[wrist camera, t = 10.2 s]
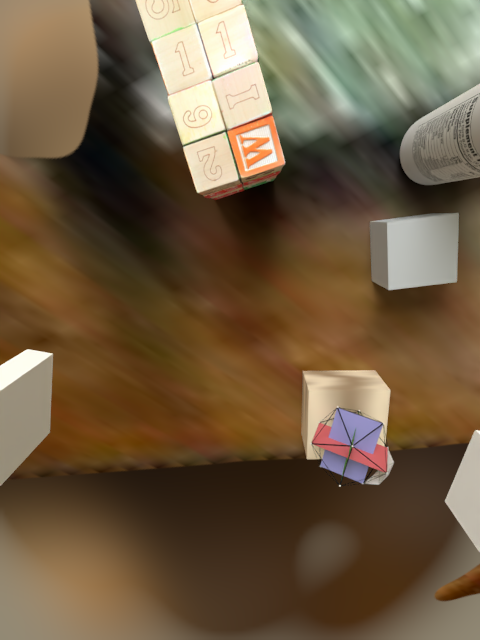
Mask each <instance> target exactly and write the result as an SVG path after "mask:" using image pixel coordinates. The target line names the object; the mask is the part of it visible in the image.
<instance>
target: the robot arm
mask: <svg viewBox="0 0 480 640" xmlns="http://www.w3.org/2000/svg"><path fill="white" fill-rule="evenodd" d="M52 367H53V354H51V353H46V352H40V351H35V350H29V349H27V350H25V351H24V352H22V353H20V354H19V355H17V356H16V357H14V358H12V359H11V360H9V361H7V362H6V363H4V364H2V365H1V366H0V486H1V485H2V484H3V483H4V481H5V480H6V479H7V478H8V477H9V476H10V475H11V474H12V473H13V472H14V471H15V470H16V468H17V467H18V466H19V465H20V464H21V463H22V462H23V461H24V460H25V459H26V458H27V457H28V455H29V454H30V453H31V452H32V451H33V450H34V449H35V448H36V447H37V446H38V445H39V444H40V442H41V441H42V440H43V439H44V438H45V437H46V436H47V435H48V434H49V433H50V416H51V392H52ZM445 502H446V504H447V505H448V507H449V508H450V510H451V511H452V512H453V514H454V515H455V517H456V519H457V520H458V521H459V523H460V524H461V526H462V527H463V529H464V530H465V532H466V533H467V535H468V536H469V538H470V539H471V540H472V542H473V544H474V545H475V546H476V548H477V549H478V551H479V552H480V431H478V430H475V431H474V434H473V436H472V439H471V441H470V443H469V446H468V448H467V451H466V453H465V455H464V457H463V460H462V462H461V464H460V467H459V469H458V472H457V474H456V476H455V479H454V481H453V483H452V486H451V488H450V490H449V493H448V495H447V498H446V500H445Z"/></svg>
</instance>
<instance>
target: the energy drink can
mask: <svg viewBox="0 0 480 640" xmlns="http://www.w3.org/2000/svg"><path fill="white" fill-rule="evenodd" d="M400 162H401V165H402V168H403V170H404V172H405V174H406V175H407V176H408V177H409V178H410V179H411V180H413V181H414V182H416V183H419V184H422V185H436V184H442V183H448V182H453V181H459V180H465V179H471V178H476V177H480V84H479V85H477V86H475V87H474V88H472V89H470V90H468V91H467V92H465V93H463V94H462V95H460V96H458V97H456V98H455V99H453V100H451V101H450V102H448V103H446V104H445V105H443V106H441V107H439V108H438V109H436V110H434V111H433V112H431V113H429V114H428V115H426V116H424V117H422V118H421V119H419V120H418V121H417V122H415V123H414V124H413V125H412V126H411V127H410V128H409V130H408V131H407V133H406V134H405V136H404V138H403V140H402V144H401V147H400Z"/></svg>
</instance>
